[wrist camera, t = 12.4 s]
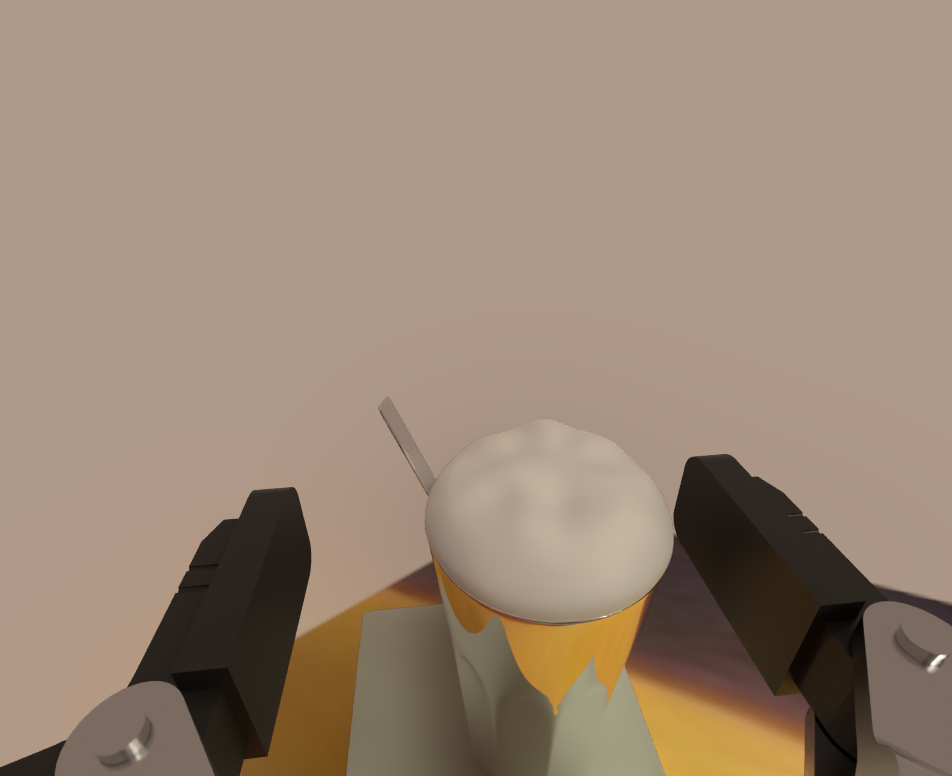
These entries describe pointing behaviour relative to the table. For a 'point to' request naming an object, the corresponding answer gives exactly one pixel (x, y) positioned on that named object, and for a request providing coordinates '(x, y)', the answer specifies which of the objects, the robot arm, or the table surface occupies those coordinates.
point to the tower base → (452, 706)
